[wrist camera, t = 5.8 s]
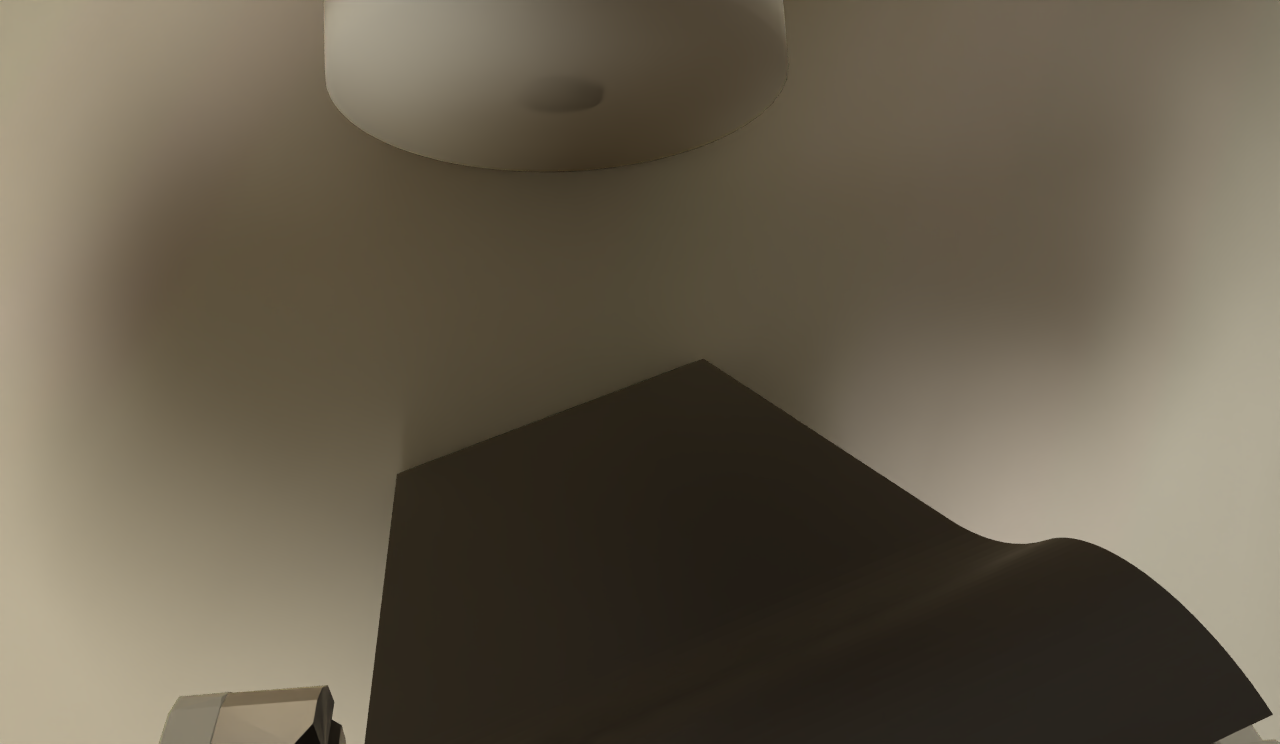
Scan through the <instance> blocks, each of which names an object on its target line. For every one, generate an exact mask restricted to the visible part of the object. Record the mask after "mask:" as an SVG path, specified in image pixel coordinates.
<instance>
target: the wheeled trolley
mask: <svg viewBox="0 0 1280 744" xmlns="http://www.w3.org/2000/svg"><path fill="white" fill-rule="evenodd" d="M323 10H324V52H325V80H326V88H327V90H328V93H329V96H330V98H331V100H332V102H333V103H334V104H335V106H336V107H337V108H338V110H339V111H340V112H341V113H342V114H343V115H344V116H345V117H346V118H347V119H348V120H349V121H350V122H351V123H353V124H354V125H356V126H357V127H358V128H360V129H361V130H363V131H364V132H366V133H367V134H369V135H371V136H373V137H375V138H377V139H379V140H381V141H383V142H385V143H387V144H390V145H392V146H394V147H397V148H399V149H402V150H405V151H408V152H411V153H414V154H417V155H420V156H424V157H428V158H432V159H436V160H440V161H444V162H449V163H454V164H459V165H465V166H472V167H479V168H486V169H497V170H508V171H530V172H561V171H581V170H593V169H603V168H611V167H618V166H625V165H632V164H637V163H642V162H647V161H652V160H657V159H661V158H665V157H669V156H673V155H676V154H679V153H683V152H686V151H689V150H693V149H695V148H698V147H701V146H703V145H706V144H709V143H711V142H714V141H716V140H718V139H720V138H722V137H725V136H727V135H729V134H731V133H733V132H735V131H736V130H738V129H740V128H741V127H743V126H745V125H747V124H748V123H750V122H751V121H752V120H754V119H755V118H756V117H758V116H759V115H761V114H762V113H763V112H764V111H765V110H766V109H767V108H768V107H769V106H770V105H771V104H772V103H773V102H774V101H775V99H776V98H777V96H778V95H779V94H780V92H781V91H782V89H783V86H784V84H785V82H786V80H787V74H788V67H789V63H788V51H787V40H786V28H785V17H784V5H783V0H323Z"/></svg>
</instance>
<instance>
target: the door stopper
mask: <svg viewBox="0 0 1280 744" xmlns="http://www.w3.org/2000/svg"><path fill="white" fill-rule="evenodd" d="M1271 715H1273V714H1272V712H1271V711H1270V709H1269V708H1268V706H1267V705H1266V703H1265V702H1264V700H1263V699H1262V698H1261V696H1260V695H1259V693H1258V692H1257V691H1256V689H1255V688H1254V686H1253V685H1252V684H1251V682H1250V681H1249V680H1248V678H1247V677H1246V676H1245V674H1244V673H1243V672H1242V670H1241V669H1240V668H1239V667H1238V665H1237V664H1236V663H1235V662H1234V660H1233V659H1232V658H1231V657H1230V655H1229V654H1228V653H1227V652H1226V651H1225V649H1224V648H1223V647H1222V646H1221V645H1220V644H1219V642H1218V641H1217V640H1216V639H1215V638H1214V637H1213V636H1212V635H1211V634H1210V632H1209V631H1208V630H1207V629H1206V628H1205V627H1204V626H1203V625H1202V624H1201V623H1200V622H1199V621H1198V620H1197V619H1196V618H1195V617H1194V616H1193V615H1192V614H1191V613H1190V612H1189V611H1188V610H1187V609H1186V608H1185V607H1184V606H1183V605H1182V604H1181V603H1180V602H1179V601H1178V600H1177V599H1175V598H1174V597H1173V596H1172V595H1171V594H1170V593H1169V592H1168V591H1166V590H1165V589H1164V588H1163V587H1162V586H1160V585H1159V584H1158V583H1157V582H1155V581H1154V580H1153V579H1152V578H1150V577H1149V576H1148V575H1146V574H1145V573H1144V572H1142V571H1141V570H1139V569H1138V568H1137V567H1135V566H1134V565H1132V564H1130V563H1129V562H1127V561H1126V560H1124V559H1122V558H1121V557H1119V556H1117V555H1116V554H1114V553H1112V552H1110V551H1108V550H1106V549H1104V548H1101V547H1099V546H1097V545H1094V544H1091V543H1089V542H1085V541H1082V540H1078V539H1072V538H1053V539H1049V540H1045V541H1041V542H1037V543H1029V544H1012V543H1004V542H999V541H995V540H991V539H988V538H985V537H982V536H980V535H977V534H975V533H973V532H971V531H969V530H967V529H965V528H963V527H961V526H959V525H958V524H956V523H954V522H953V521H951V520H949V519H948V518H946V517H945V516H943V515H942V514H940V513H939V512H937V511H936V510H934V509H933V508H931V507H929V506H928V505H926V504H925V503H923V502H922V501H920V500H919V499H917V498H916V497H914V496H913V495H911V494H910V493H908V492H906V491H905V490H903V489H902V488H900V487H899V486H897V485H896V484H894V483H893V482H891V481H890V480H888V479H887V478H885V477H884V476H882V475H880V474H879V473H877V472H876V471H874V470H873V469H871V468H870V467H868V466H867V465H865V464H864V463H862V462H861V461H859V460H858V459H856V458H854V457H853V456H851V455H850V454H848V453H847V452H845V451H844V450H842V449H841V448H839V447H838V446H836V445H835V444H833V443H832V442H830V441H828V440H827V439H825V438H824V437H822V436H821V435H819V434H818V433H816V432H815V431H813V430H812V429H810V428H809V427H807V426H806V425H804V424H802V423H801V422H799V421H798V420H796V419H795V418H793V417H792V416H790V415H789V414H787V413H786V412H784V411H783V410H781V409H780V408H778V407H776V406H775V405H773V404H772V403H770V402H769V401H767V400H766V399H764V398H763V397H761V396H760V395H758V394H757V393H755V392H753V391H752V390H750V389H749V388H747V387H746V386H744V385H743V384H741V383H740V382H738V381H737V380H735V379H734V378H732V377H731V376H729V375H727V374H726V373H724V372H723V371H721V370H720V369H718V368H717V367H715V366H714V365H712V364H711V363H709V362H708V361H706V360H705V359H701V360H698V361H695V362H693V363H690V364H687V365H685V366H682V367H680V368H677V369H674V370H672V371H669V372H666V373H664V374H661V375H658V376H656V377H653V378H650V379H648V380H645V381H642V382H640V383H637V384H634V385H632V386H629V387H626V388H624V389H621V390H619V391H616V392H613V393H611V394H608V395H605V396H603V397H600V398H597V399H595V400H592V401H589V402H587V403H584V404H581V405H579V406H576V407H573V408H571V409H568V410H565V411H563V412H560V413H558V414H555V415H552V416H550V417H547V418H544V419H542V420H539V421H536V422H534V423H531V424H528V425H526V426H523V427H520V428H518V429H515V430H512V431H510V432H507V433H504V434H502V435H499V436H496V437H494V438H491V439H489V440H486V441H483V442H481V443H478V444H475V445H473V446H470V447H467V448H465V449H462V450H459V451H457V452H454V453H451V454H449V455H446V456H443V457H441V458H438V459H435V460H433V461H430V462H428V463H425V464H422V465H420V466H417V467H414V468H412V469H409V470H406V471H404V472H401V473H398V474H397V479H396V487H395V495H394V504H393V512H392V520H391V529H390V537H389V545H388V554H387V562H386V570H385V579H384V587H383V595H382V604H381V612H380V620H379V628H378V637H377V645H376V653H375V662H374V670H373V678H372V687H371V695H370V703H369V712H368V720H367V728H366V737H365V744H1212V743H1214V742H1217V741H1219V740H1221V739H1223V738H1225V737H1227V736H1229V735H1231V734H1233V733H1235V732H1237V731H1239V730H1242V729H1244V728H1246V727H1248V726H1250V725H1252V724H1254V723H1256V722H1258V721H1260V720H1262V719H1264V718H1267V717H1269V716H1271Z"/></svg>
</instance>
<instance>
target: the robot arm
mask: <svg viewBox="0 0 1280 744" xmlns="http://www.w3.org/2000/svg"><path fill="white" fill-rule="evenodd" d="M333 707H334V700H333V698H332V695H331V692H330V690H329V687H328V685H325V686H312V687H299V688H286V689H273V690H260V691H247V692H234V693H233V692H225V693H214V694H203V695H192V696H181V697H179V698H178V699H177V701H176V703H175V704H174V706H173V707H172V709H171V710H170V712H169V713H168V716H167V719H166V722H165V725H164V729H163V732H162V735H161V738H160V741H159V744H346V740H345V736H344V732H343V729H342V725H340V724H338V723H337V722H335V721H333V720H332V713H333ZM1212 744H1280V743H1279V742H1278V741H1276V740H1262V739H1261V737H1260V736H1259V734H1258V733H1257V732H1256V730H1255V729H1254V727H1253V726H1252V725H1250V726H1248V727H1246V728H1244V729H1242V730H1239V731H1237V732H1235V733H1233V734H1231V735H1229V736H1227V737H1225V738H1223V739H1221V740H1219V741H1217V742H1214V743H1212Z"/></svg>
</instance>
